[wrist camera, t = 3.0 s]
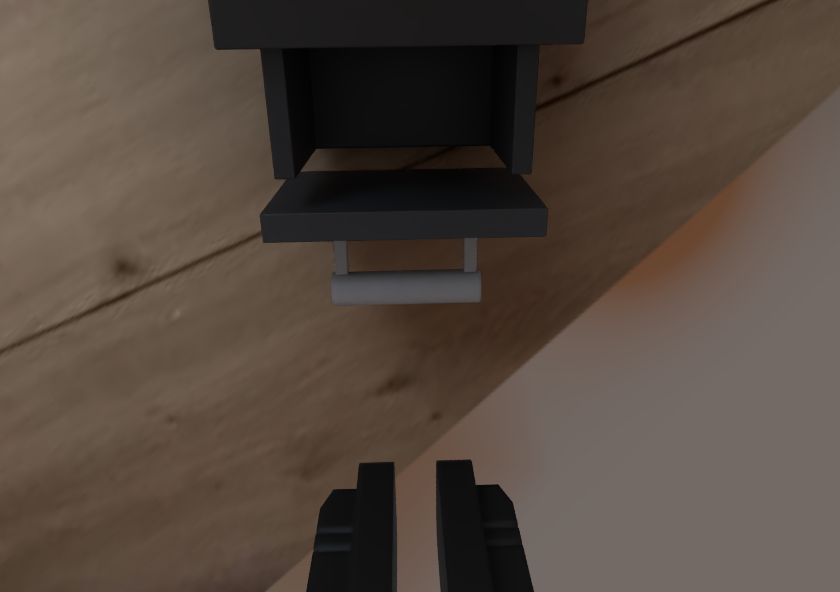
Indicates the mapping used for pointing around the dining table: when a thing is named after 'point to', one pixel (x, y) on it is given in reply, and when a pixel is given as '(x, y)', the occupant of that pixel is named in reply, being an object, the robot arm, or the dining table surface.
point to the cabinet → (394, 23)
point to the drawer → (402, 127)
